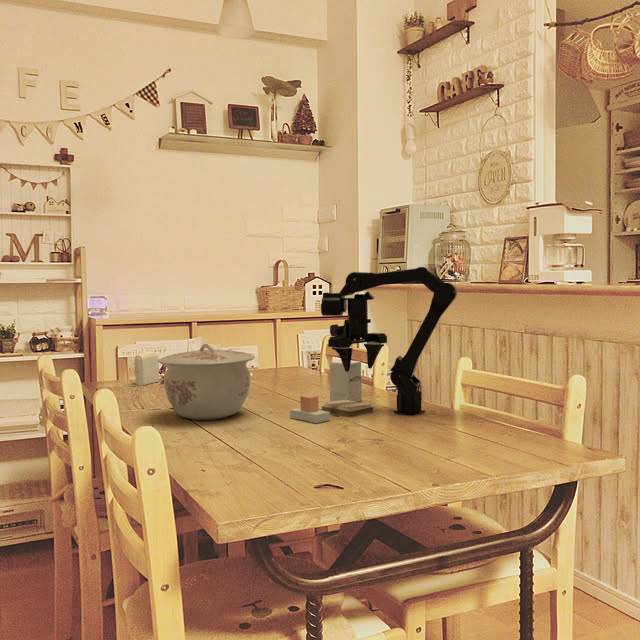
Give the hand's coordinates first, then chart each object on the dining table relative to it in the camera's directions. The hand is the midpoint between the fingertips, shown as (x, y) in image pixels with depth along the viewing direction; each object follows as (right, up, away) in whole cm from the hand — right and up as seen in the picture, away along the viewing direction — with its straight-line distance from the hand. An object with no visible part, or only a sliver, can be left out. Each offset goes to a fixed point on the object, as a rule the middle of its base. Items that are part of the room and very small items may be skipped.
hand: (358, 370), depth 197 cm
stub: (-14, -13, -9) cm, 21 cm away
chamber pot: (-43, -13, 0) cm, 45 cm away
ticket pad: (-3, -12, 0) cm, 13 cm away
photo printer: (-77, -10, +63) cm, 100 cm away
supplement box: (-3, -11, +16) cm, 20 cm away
